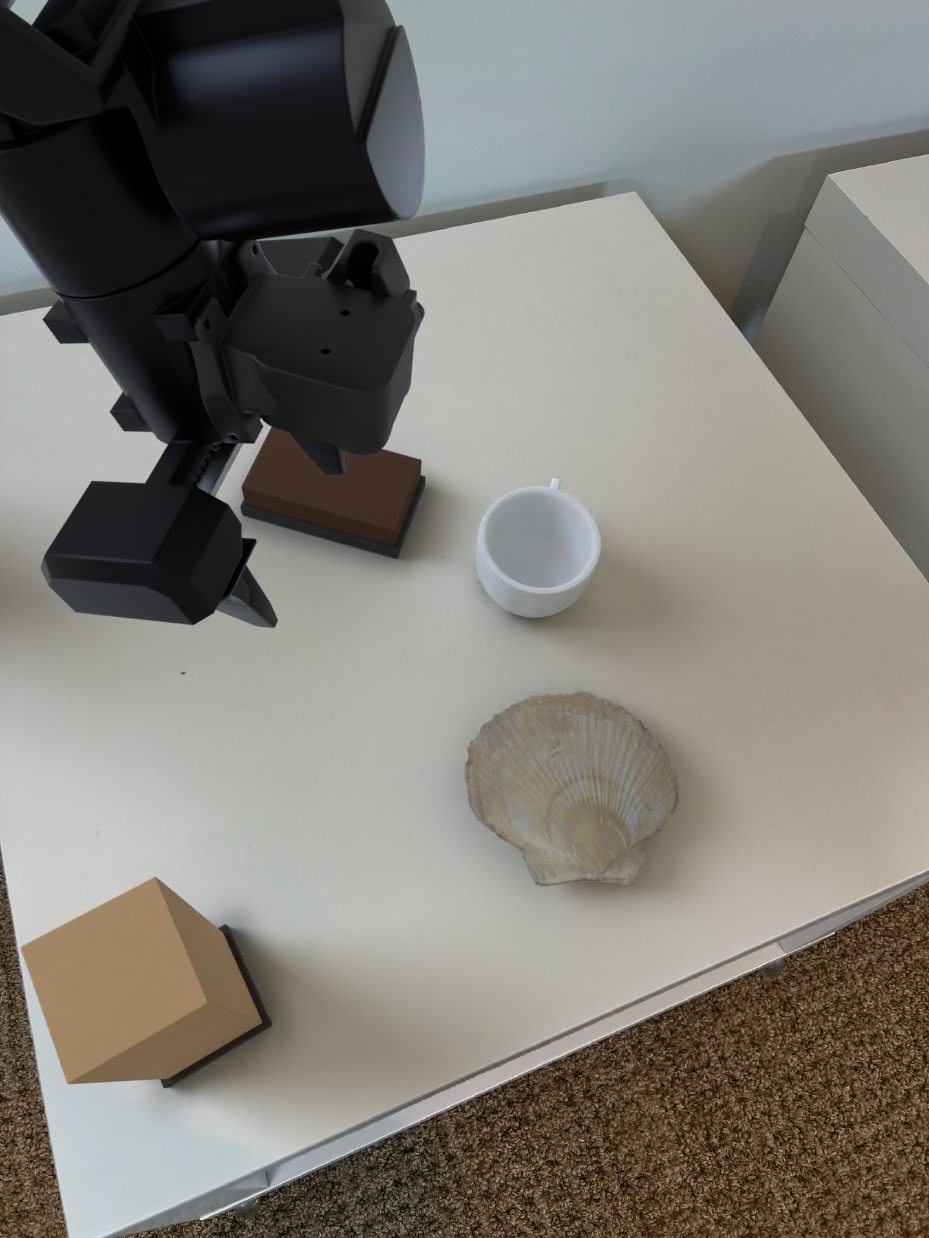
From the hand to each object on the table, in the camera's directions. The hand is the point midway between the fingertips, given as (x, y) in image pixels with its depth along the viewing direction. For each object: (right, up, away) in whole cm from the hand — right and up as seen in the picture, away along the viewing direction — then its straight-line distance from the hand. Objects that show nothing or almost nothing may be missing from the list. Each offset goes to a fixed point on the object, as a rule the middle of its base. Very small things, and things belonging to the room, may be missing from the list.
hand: (303, 544), depth 41 cm
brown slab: (-1, +5, +19) cm, 19 cm away
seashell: (+14, -14, +11) cm, 22 cm away
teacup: (+12, 0, +18) cm, 21 cm away
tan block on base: (-6, -23, +4) cm, 24 cm away
